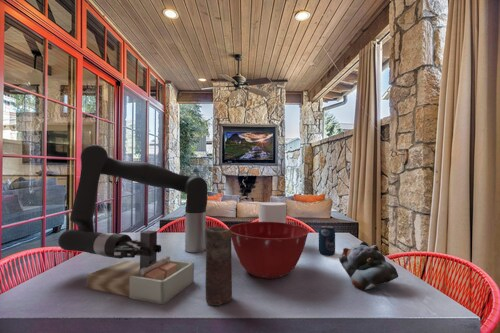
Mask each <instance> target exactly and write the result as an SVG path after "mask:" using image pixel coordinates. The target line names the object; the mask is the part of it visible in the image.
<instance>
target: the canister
mask: <svg viewBox="0 0 500 333" xmlns="http://www.w3.org/2000/svg"><path fill="white" fill-rule="evenodd" d="M258 222H280V223H287V202H283V201H281V202H280V201H262V202H258Z"/></svg>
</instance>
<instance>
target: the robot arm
mask: <svg viewBox="0 0 500 333" xmlns="http://www.w3.org/2000/svg"><path fill="white" fill-rule="evenodd" d="M80 162H81V163H80V164H81V167H80V175H79V181H78V186H77V189H76V192H75V195H74V196H75V197H74V200H73V205H72V208H71V213H70V217H69V220H70V222H71V223H73V224H74V225H76V226H77V229H73V228H71V229H67V230H65V231H63V232H62V233H60V236H59V238H58V240H57V241H58V245H59V247H60V248H61V249H62V250H63V251H68V252H69V251H71V252H82V253H88V254H92V255H99V256H101V257H107V258H114V259H119V260H121V259H126V258H130V259H132V258H133V259H134V258H135V257H136V256H137V257H140V256H141V255H143V256H152V255H153V249H152V248H143V247H142V248H141V247H140V240H138V239H132V238H131V236H129V234H125V233H124V234H123V233H116V232H115V233H113V232H98V231H97V232H96V231H95V226H94V215H95V210H96V206H97V205H96V204H97V198H98V188H99V182H100V177H101V175H104V176H111V177H112V176H113V177H116V178H120V179H123V180H127V181H131V182H136V183H138V184H142V185H146V186H148V187H149V186H150V187H155V188H163V189H170V190H171V189H172V190H175V191H179V192H181V193H184V194H186V203H185V204H186V205H185V207H184V209H185V213H184V214H185V218H184V219H185V222H184V223H185V224H184V227H185V228H184V232H185V234H184V243H185V244H184V251H185V252H187V253H201V252H205V251H206V228H207V206H208V191H209V190H208V184H207V181H206V180H205V179H204V178H202V177H200V176H192V175H191V176H190V175H184V174H179V173H177V172H174V171H171V170H169V169H167V168H165V167H162V166H159V165H156V164H153V163H149V162H145V161H130V160H129V161H127V160H126V161H125V160H120V159H116V158H113V157H110V156H109V155H108V153H107V150H106V149H105V147H103V146H102V145H99V144H90V145H87V146H86V147H85V148H84V149H82V151H81V154H80ZM161 252H162V245H161V244H157V253H161Z"/></svg>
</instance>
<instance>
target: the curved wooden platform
mask: <svg viewBox="0 0 500 333" xmlns="http://www.w3.org/2000/svg"><path fill="white" fill-rule="evenodd" d="M139 269H140V261H139V262H138V261H133V260H125V259H124V260H123V259H122V260H119V261H118V262H115V263H113V264H110V265H108V266H106V267H103V268H101V269H99V270H95V271H93V272H92V273H89V274H87V277H86V278H87V281H86V282H87V285H86V288H87V289H91V290H94V291H95V290H96V291H101V292H106V293H111V294H116V295H120V296H121V295H122V296H127V297H129V296H130V276H138V277H141V273H139Z"/></svg>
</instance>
